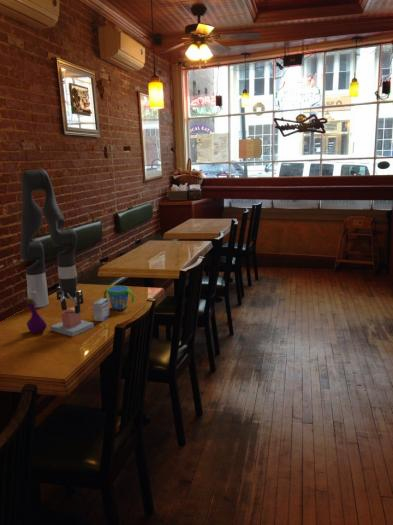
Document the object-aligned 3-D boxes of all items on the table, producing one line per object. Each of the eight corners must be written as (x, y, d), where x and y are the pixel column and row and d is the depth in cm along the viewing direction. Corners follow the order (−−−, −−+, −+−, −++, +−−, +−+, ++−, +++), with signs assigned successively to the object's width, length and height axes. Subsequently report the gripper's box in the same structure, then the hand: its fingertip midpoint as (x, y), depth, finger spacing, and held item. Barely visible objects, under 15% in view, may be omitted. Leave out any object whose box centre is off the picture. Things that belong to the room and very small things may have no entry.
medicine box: (103, 321, 196) (101, 303, 194) (94, 321, 197) (92, 303, 195) (110, 315, 204) (108, 298, 202) (101, 315, 205) (99, 297, 203)
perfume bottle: (29, 336, 182) (24, 295, 177) (27, 330, 188) (22, 291, 184) (47, 332, 185) (43, 292, 181) (45, 327, 191) (40, 288, 187)
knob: (62, 325, 187) (61, 309, 185) (73, 321, 192) (72, 305, 190) (70, 327, 184) (68, 311, 183) (81, 323, 189) (79, 307, 187)
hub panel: (51, 330, 187) (49, 318, 186) (72, 321, 197) (71, 310, 196) (72, 336, 180) (71, 324, 179) (94, 327, 190) (93, 315, 188)
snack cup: (138, 306, 216) (137, 286, 214) (127, 313, 207) (126, 292, 204) (111, 303, 222) (110, 284, 219) (100, 309, 212) (98, 290, 210)
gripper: (49, 275, 184) (53, 311, 188) (72, 280, 176) (75, 317, 180) (63, 271, 190) (66, 306, 194) (86, 275, 182) (89, 311, 186)
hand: (71, 311), depth 187 cm, fingers open, 8 cm apart
